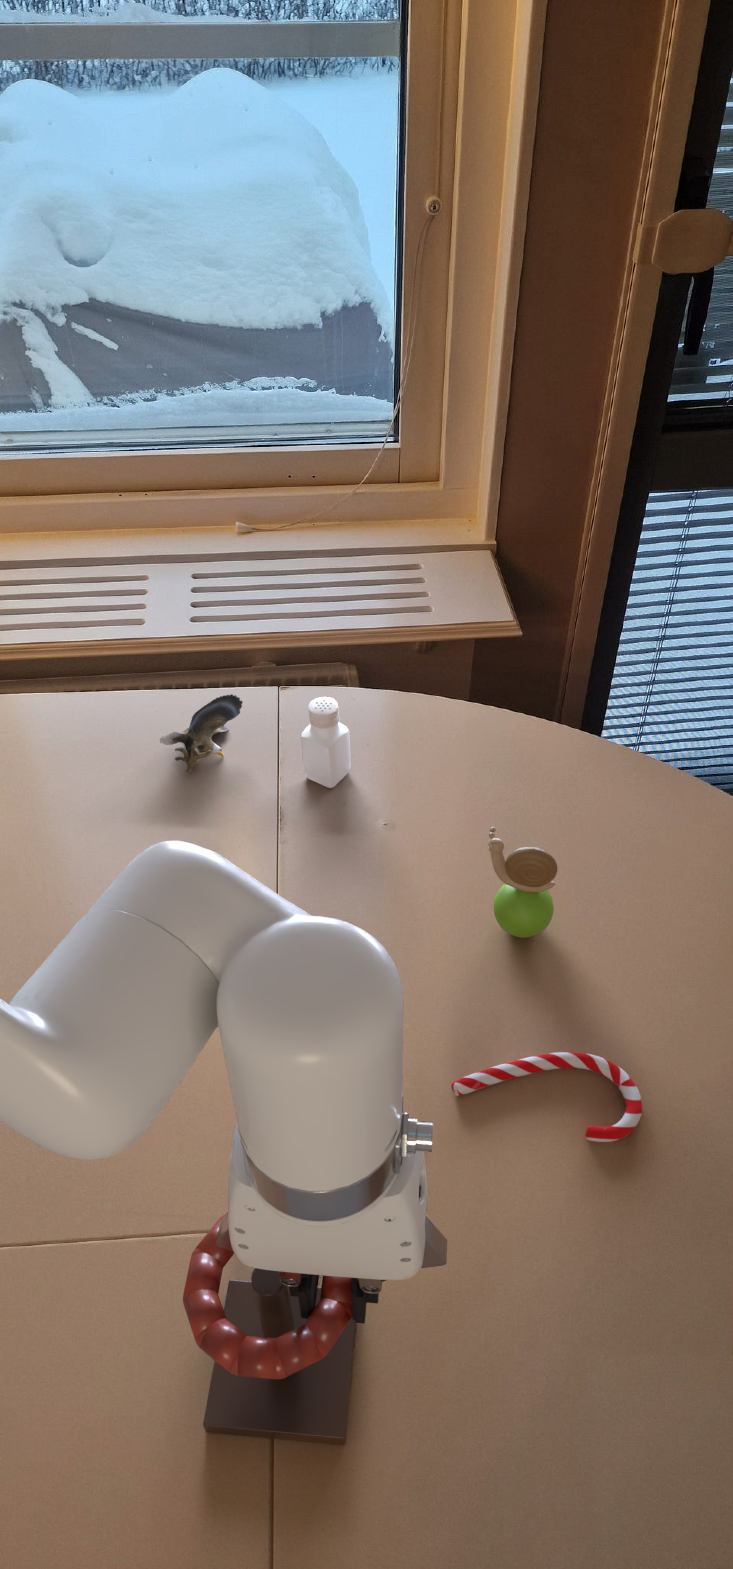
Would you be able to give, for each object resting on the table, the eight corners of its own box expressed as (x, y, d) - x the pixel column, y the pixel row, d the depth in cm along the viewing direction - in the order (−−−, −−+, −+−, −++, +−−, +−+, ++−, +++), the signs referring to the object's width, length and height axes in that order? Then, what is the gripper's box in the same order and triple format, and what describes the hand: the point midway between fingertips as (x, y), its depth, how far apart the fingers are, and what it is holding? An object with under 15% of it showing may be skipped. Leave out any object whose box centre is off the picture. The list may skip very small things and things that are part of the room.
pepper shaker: (302, 778, 113) (296, 709, 106) (323, 758, 115) (319, 689, 109) (331, 791, 111) (327, 722, 104) (353, 771, 113) (350, 702, 107)
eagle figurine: (235, 775, 111) (259, 713, 117) (190, 734, 107) (217, 672, 113) (187, 789, 116) (213, 729, 121) (142, 750, 112) (171, 690, 117)
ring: (170, 1375, 58) (165, 1362, 57) (205, 1203, 65) (201, 1188, 64) (348, 1390, 57) (346, 1377, 56) (363, 1213, 65) (362, 1198, 63)
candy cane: (450, 1048, 85) (633, 1049, 85) (449, 1057, 86) (630, 1058, 86) (454, 1135, 80) (650, 1136, 79) (453, 1143, 80) (647, 1145, 80)
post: (205, 1432, 66) (174, 1354, 57) (231, 1287, 73) (207, 1196, 64) (345, 1445, 65) (336, 1368, 56) (358, 1298, 72) (353, 1208, 63)
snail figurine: (484, 899, 99) (492, 808, 91) (552, 908, 98) (566, 817, 90) (477, 943, 95) (485, 852, 87) (548, 953, 94) (562, 862, 86)
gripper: (493, 1075, 51) (473, 1241, 63) (171, 1053, 52) (214, 1221, 64) (494, 1226, 45) (472, 1376, 58) (134, 1198, 46) (188, 1350, 59)
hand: (335, 1293), depth 61 cm, fingers closed on ring, 2 cm apart
